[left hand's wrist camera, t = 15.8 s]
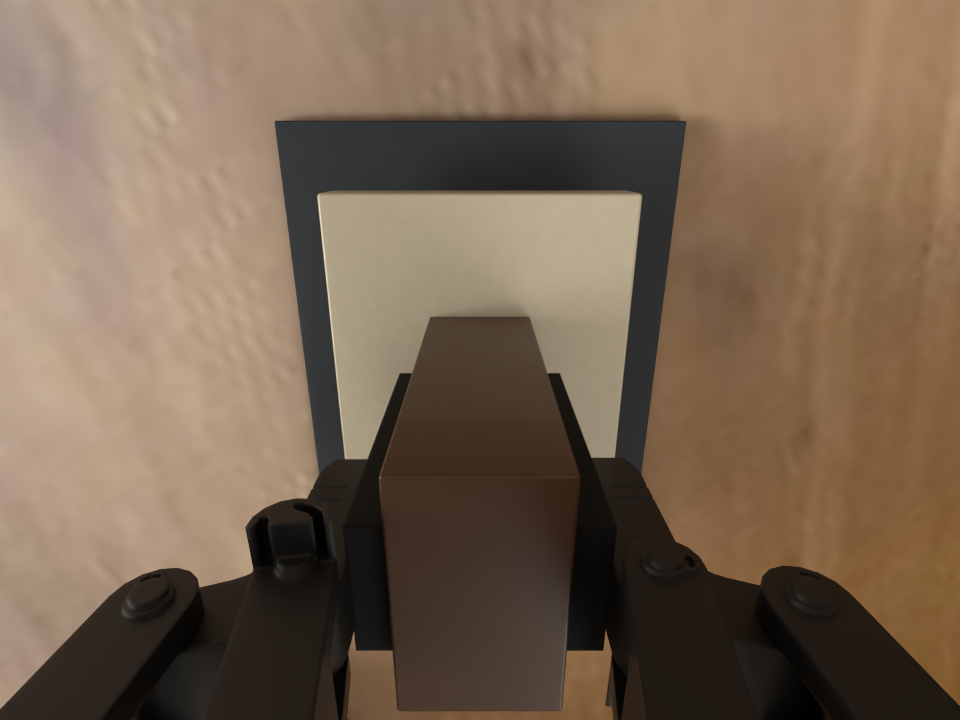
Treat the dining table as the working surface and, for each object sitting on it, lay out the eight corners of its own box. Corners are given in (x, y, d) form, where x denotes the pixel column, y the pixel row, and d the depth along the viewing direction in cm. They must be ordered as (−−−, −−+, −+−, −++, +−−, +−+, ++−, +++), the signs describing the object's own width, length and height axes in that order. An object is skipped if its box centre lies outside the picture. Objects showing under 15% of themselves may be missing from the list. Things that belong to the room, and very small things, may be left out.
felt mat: (631, 529, 23) (633, 535, 22) (329, 529, 23) (326, 535, 22) (682, 121, 17) (686, 120, 17) (278, 121, 17) (273, 120, 17)
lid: (597, 519, 20) (699, 831, 11) (362, 519, 20) (260, 831, 11) (629, 190, 16) (844, 233, 6) (330, 190, 16) (115, 233, 6)
